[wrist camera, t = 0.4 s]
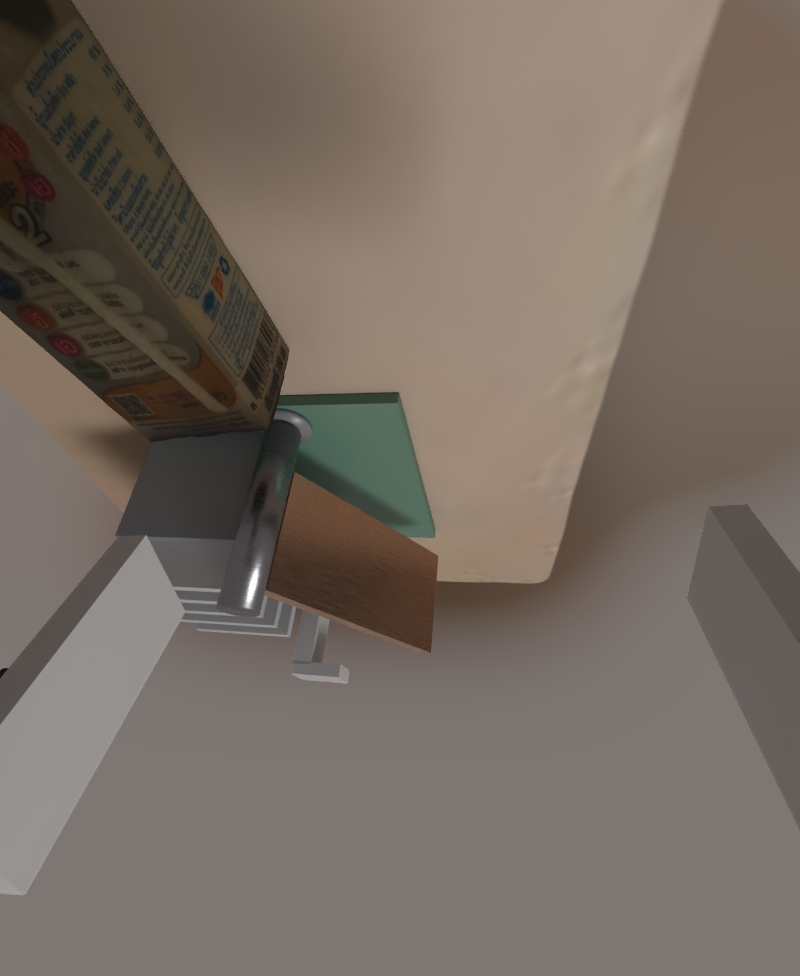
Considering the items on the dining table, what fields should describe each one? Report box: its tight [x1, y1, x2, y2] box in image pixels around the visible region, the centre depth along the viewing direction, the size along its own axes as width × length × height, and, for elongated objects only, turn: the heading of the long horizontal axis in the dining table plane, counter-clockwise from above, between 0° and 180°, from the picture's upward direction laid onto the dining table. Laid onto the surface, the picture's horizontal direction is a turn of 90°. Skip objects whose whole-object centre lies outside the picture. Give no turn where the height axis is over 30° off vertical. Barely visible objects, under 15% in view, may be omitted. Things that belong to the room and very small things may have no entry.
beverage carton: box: [0, 0, 289, 442], centre depth 22 cm, size 8×19×7 cm, turn 16°
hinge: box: [216, 422, 438, 653], centre depth 37 cm, size 18×2×12 cm, turn 40°
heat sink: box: [115, 393, 435, 683], centre depth 40 cm, size 20×19×14 cm
